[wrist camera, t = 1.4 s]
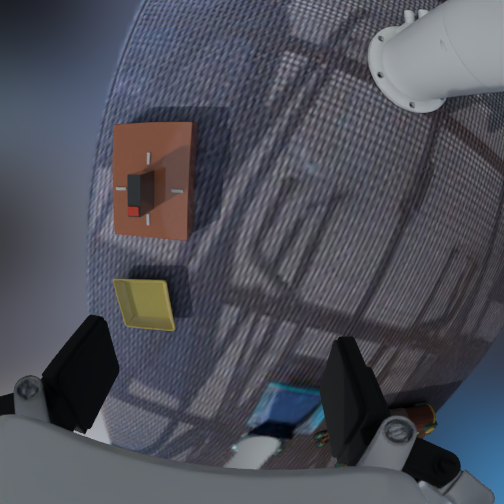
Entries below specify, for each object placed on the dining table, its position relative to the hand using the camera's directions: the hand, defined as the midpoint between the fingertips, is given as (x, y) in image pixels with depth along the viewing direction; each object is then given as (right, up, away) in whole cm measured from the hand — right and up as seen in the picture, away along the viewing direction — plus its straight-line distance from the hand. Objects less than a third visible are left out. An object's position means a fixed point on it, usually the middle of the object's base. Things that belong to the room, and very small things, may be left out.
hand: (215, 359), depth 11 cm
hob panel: (-11, +14, +23) cm, 29 cm away
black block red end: (-11, +12, +20) cm, 26 cm away
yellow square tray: (-14, -3, +30) cm, 33 cm away
